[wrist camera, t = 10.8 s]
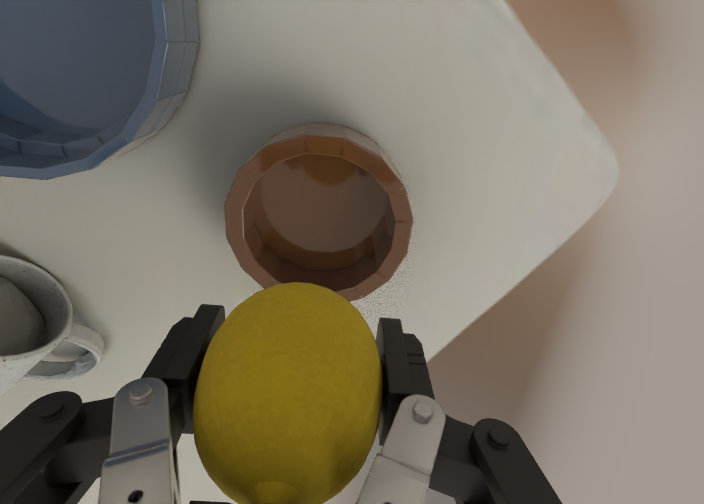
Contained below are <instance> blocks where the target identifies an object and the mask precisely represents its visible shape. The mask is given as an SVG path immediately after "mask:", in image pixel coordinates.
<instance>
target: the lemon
mask: <svg viewBox="0 0 704 504" xmlns="http://www.w3.org/2000/svg"><path fill="white" fill-rule="evenodd" d="M382 392H383V372H382V365H381V361H380V357H379V353H378V349H377V345H376V341H375V339H374V336H373V333H372V332H371V330H370V328H369V326H368V325H367V323H366V321H365V320H364V318H363V316H362V315H361V313H360V312H359V311H358V310H357V309H356V308H355V307H354V306H353V305H352V304H351V303H350V302H349V301H348V300H346V299H345V298H344V297H342V296H341V295H339V294H337V293H335V292H334V291H332V290H330V289H328V288H325V287H322V286H318V285H315V284H312V283H299V282H292V283H285V284H278V285H274V286H272V287H269V288H267V289H264V290H261V291H259V292H257V293H255V294H254V295H252V296H251V297H249V298H248V299H247V300H245V301H244V302H242V303H241V304H240V305H238V306H237V307H236V308H235V309H234V310H233V311H232V312H231V314H230V315H229V316H228V317H227V319H226V320H225V321H224V323H223V324H222V325H221V326H220V328H219V329H218V330H217V332H216V333H215V335H214V337H213V338H212V340H211V342H210V344H209V346H208V349H207V352H206V354H205V357H204V360H203V363H202V366H201V369H200V372H199V375H198V379H197V383H196V388H195V395H194V404H193V425H194V439H195V445H196V448H197V451H198V454H199V457H200V459H201V461H202V464H203V466H204V468H205V470H206V471H207V473H208V475H209V476H210V478H211V479H212V480H213V481H214V482H215V484H216V485H217V486H218V487H219V488H220V489H221V490H222V492H223V493H224V494H226V495H227V496H228V497H230V498H231V499H232V500H234V501H235V502H237V503H238V504H323V503H324V502H326V501H328V500H329V499H331V498H332V497H334V496H335V495H337V494H338V493H340V492H341V490H343V489H344V488H345V487H346V485H348V484H349V482H350V481H351V480H352V479H353V478H354V477H355V476H356V475H357V474H358V472H359V471H360V469H361V468H362V466H363V465H364V462H365V460H366V458H367V456H368V454H369V452H370V450H371V447H372V445H373V442H374V440H375V436H376V433H377V430H378V425H379V420H380V413H381V404H382Z"/></svg>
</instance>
